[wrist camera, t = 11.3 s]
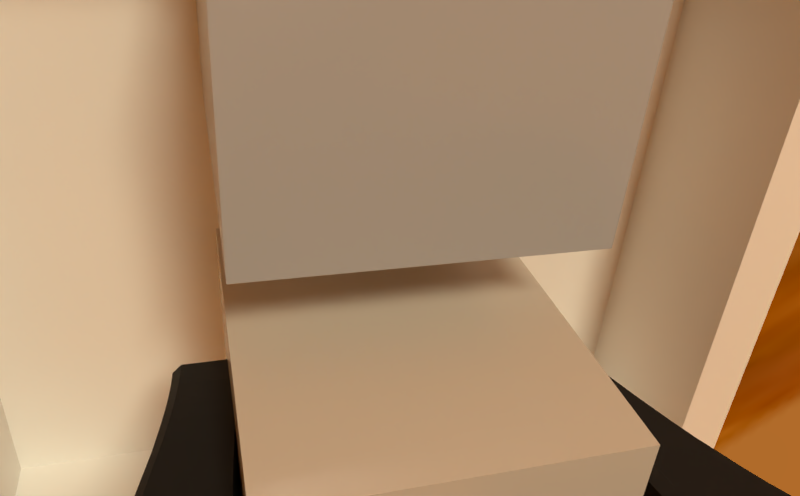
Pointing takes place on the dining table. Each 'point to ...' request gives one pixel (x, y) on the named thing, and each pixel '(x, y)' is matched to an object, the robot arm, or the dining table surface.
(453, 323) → the beige cuboid
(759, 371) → the dining table surface
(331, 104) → the grey rectangular prism
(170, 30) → the pale wooden open box
